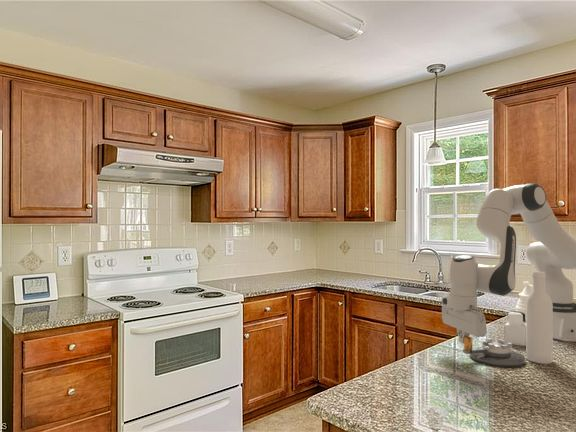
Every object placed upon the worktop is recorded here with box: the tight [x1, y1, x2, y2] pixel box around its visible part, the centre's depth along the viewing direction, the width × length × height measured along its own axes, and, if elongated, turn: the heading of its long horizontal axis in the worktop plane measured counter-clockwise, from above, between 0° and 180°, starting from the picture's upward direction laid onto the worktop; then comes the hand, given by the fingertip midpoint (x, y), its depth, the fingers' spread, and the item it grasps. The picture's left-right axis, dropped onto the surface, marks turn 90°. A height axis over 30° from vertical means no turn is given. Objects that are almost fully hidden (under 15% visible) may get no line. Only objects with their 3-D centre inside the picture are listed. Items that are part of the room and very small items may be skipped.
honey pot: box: [515, 280, 533, 322], centre depth 209 cm, size 13×13×18 cm
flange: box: [469, 346, 526, 368], centre depth 148 cm, size 17×17×2 cm
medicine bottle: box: [503, 310, 526, 347], centre depth 168 cm, size 7×7×12 cm
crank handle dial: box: [462, 335, 513, 358], centre depth 147 cm, size 17×9×6 cm, turn 102°
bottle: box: [525, 271, 554, 365], centre depth 147 cm, size 8×8×30 cm
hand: (463, 342), depth 148 cm, fingers closed
